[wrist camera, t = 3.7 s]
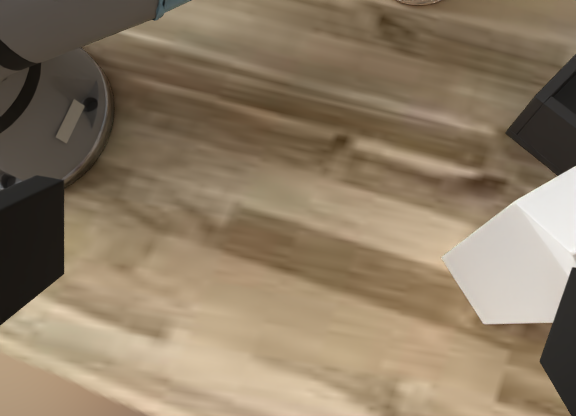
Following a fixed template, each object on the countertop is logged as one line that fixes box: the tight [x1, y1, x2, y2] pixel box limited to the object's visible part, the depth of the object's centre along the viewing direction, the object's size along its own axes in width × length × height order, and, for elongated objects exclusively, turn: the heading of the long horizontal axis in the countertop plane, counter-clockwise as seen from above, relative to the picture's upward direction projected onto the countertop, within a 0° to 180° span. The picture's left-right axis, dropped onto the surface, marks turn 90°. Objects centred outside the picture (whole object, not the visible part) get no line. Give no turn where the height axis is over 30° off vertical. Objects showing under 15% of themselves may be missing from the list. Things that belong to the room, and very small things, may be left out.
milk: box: [441, 166, 576, 324], centre depth 30 cm, size 6×6×22 cm
